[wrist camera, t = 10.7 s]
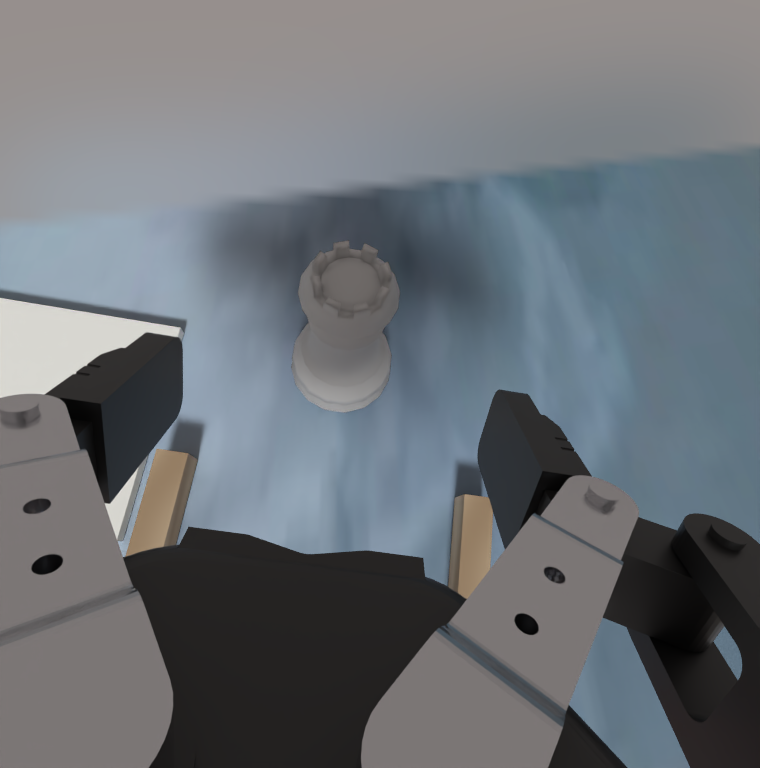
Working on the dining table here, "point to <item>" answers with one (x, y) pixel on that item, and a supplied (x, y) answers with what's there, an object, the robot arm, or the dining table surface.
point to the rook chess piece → (345, 328)
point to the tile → (66, 362)
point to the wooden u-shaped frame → (173, 486)
